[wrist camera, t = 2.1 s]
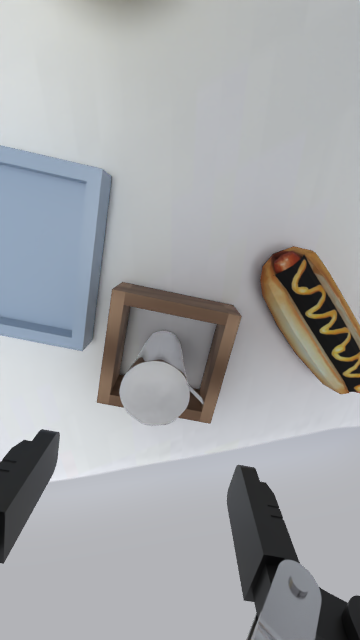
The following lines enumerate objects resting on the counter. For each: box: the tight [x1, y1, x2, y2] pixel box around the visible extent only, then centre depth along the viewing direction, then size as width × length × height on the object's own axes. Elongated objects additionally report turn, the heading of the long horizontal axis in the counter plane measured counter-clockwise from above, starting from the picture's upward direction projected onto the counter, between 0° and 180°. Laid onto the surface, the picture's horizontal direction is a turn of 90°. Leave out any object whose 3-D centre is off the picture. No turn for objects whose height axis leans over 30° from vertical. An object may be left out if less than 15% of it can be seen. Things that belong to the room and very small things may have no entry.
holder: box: [97, 282, 242, 423], centre depth 23 cm, size 10×10×4 cm
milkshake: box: [119, 330, 204, 425], centre depth 20 cm, size 4×5×10 cm
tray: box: [0, 145, 112, 351], centre depth 21 cm, size 14×14×2 cm
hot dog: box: [260, 246, 360, 394], centre depth 22 cm, size 5×13×5 cm, turn 36°
